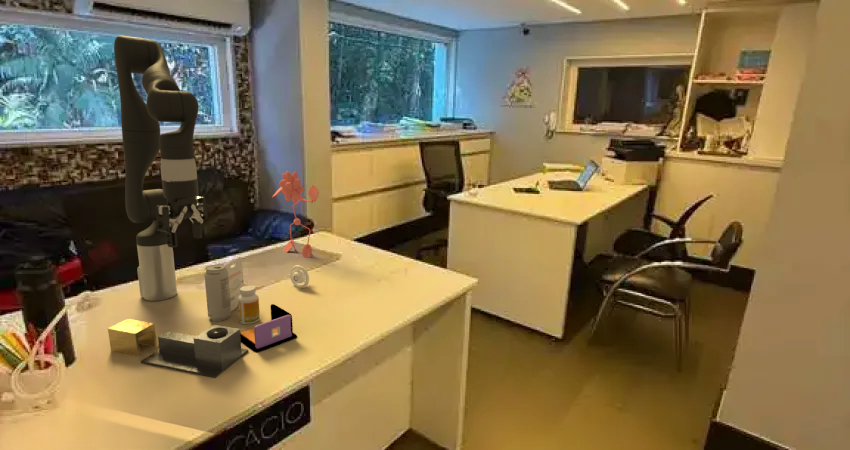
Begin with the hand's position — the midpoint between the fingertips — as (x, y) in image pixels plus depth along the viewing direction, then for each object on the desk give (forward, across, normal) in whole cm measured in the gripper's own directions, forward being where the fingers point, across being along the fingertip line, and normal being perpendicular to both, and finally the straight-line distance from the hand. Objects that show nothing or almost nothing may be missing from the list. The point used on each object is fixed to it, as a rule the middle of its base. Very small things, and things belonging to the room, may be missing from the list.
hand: (185, 242), depth 114 cm
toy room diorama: (+26, -5, +18) cm, 32 cm away
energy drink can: (+26, -11, -1) cm, 28 cm away
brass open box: (+25, +10, -9) cm, 29 cm away
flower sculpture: (+26, -64, -7) cm, 70 cm away
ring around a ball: (+26, -39, +10) cm, 48 cm away
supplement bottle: (+26, -12, +8) cm, 29 cm away
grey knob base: (+25, +9, +8) cm, 28 cm away
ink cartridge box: (+26, -18, -2) cm, 32 cm away
